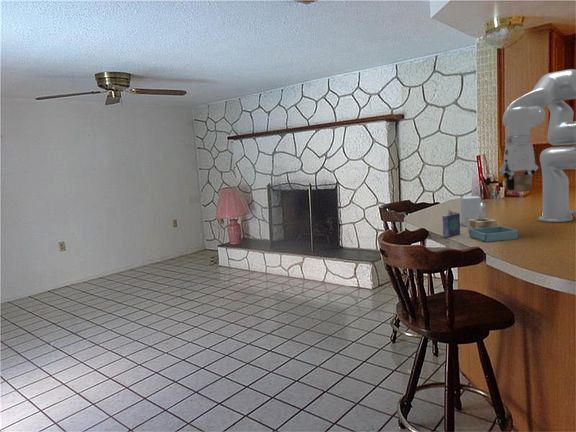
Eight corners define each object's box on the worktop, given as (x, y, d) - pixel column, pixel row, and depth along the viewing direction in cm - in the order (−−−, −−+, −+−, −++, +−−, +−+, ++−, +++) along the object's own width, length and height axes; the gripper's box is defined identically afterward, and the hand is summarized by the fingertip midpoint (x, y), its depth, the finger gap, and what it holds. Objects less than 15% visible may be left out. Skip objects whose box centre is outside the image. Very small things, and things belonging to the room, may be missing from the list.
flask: (446, 238, 168) (445, 211, 166) (440, 237, 170) (439, 211, 169) (461, 234, 172) (460, 208, 171) (455, 233, 175) (454, 208, 173)
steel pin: (483, 231, 174) (482, 202, 172) (487, 232, 171) (486, 203, 170) (477, 231, 174) (476, 203, 172) (481, 232, 171) (480, 203, 170)
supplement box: (482, 225, 186) (481, 197, 184) (464, 226, 187) (463, 198, 185) (478, 222, 193) (477, 195, 191) (461, 223, 194) (460, 196, 192)
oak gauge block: (485, 229, 177) (485, 217, 176) (497, 232, 169) (496, 220, 168) (467, 231, 176) (467, 219, 176) (478, 234, 168) (478, 222, 168)
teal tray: (501, 233, 167) (500, 226, 166) (519, 238, 156) (519, 230, 155) (469, 237, 166) (469, 229, 165) (485, 242, 154) (485, 234, 154)
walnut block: (520, 189, 162) (520, 173, 161) (531, 190, 156) (531, 174, 156) (506, 191, 162) (506, 175, 161) (516, 191, 156) (516, 175, 155)
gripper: (503, 142, 152) (503, 191, 154) (546, 138, 154) (546, 187, 156) (490, 143, 159) (491, 190, 162) (532, 139, 161) (532, 186, 164)
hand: (518, 188), depth 159 cm, fingers closed on walnut block, 6 cm apart
